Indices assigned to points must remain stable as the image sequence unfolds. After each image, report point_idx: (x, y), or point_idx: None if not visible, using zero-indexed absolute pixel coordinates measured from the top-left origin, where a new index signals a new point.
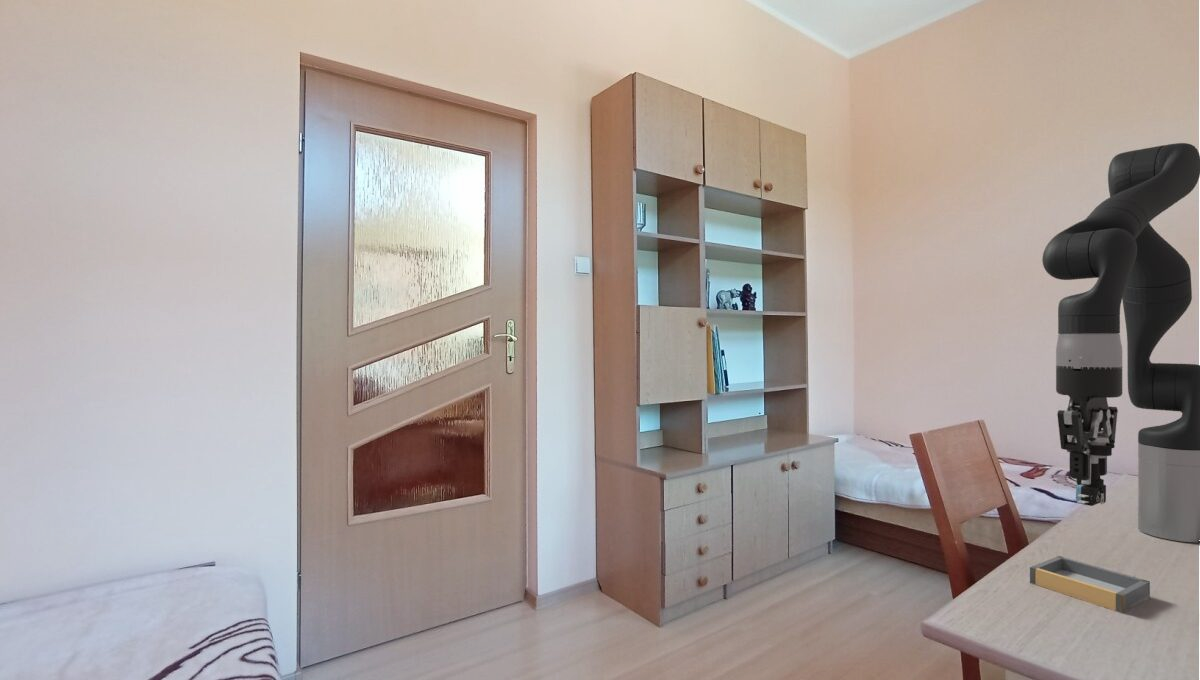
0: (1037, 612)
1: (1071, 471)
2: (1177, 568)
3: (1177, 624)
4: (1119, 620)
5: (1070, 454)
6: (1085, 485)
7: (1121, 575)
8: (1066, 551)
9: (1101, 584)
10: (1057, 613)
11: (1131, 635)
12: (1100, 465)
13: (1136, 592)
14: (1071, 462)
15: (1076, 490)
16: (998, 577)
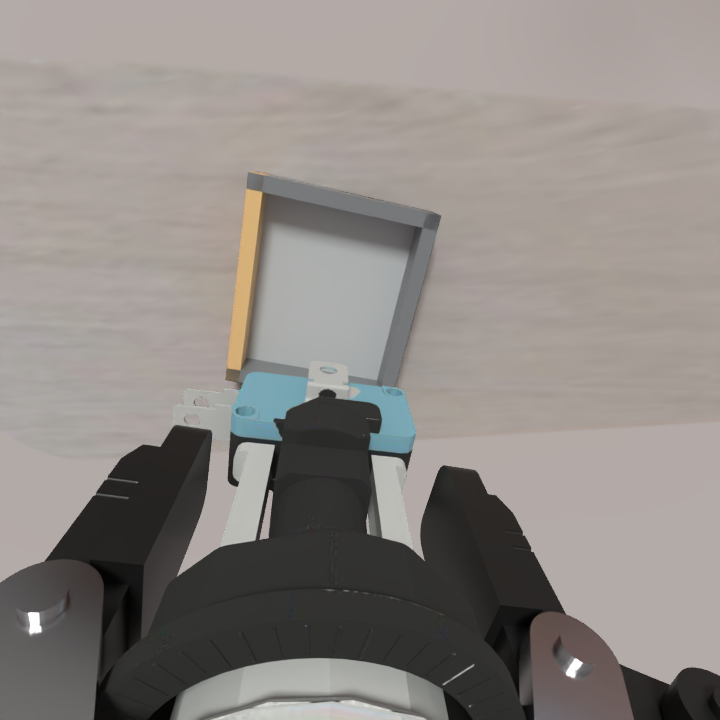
0: (55, 232)
1: (119, 463)
2: (656, 407)
3: None
4: (185, 363)
5: (96, 554)
6: (279, 445)
7: (389, 359)
8: (645, 194)
9: (366, 314)
10: (97, 267)
11: (121, 387)
12: (435, 567)
13: None
14: (81, 514)
15: (307, 384)
16: (223, 87)
